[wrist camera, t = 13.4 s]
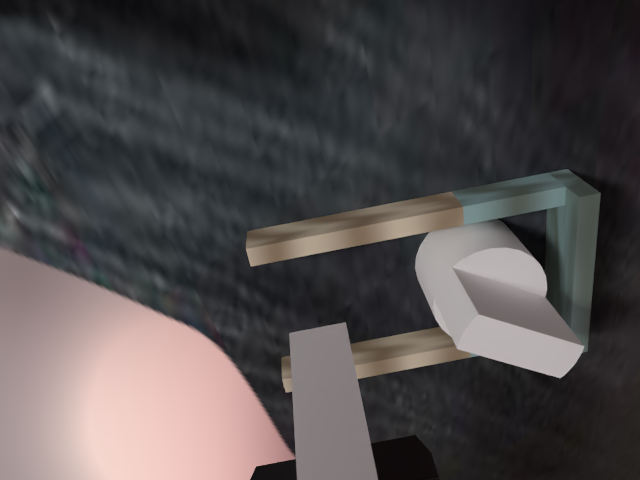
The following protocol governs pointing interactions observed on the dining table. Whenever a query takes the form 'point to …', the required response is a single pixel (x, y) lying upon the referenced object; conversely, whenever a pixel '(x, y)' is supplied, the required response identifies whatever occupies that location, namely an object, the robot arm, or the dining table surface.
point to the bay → (446, 212)
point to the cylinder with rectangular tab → (494, 298)
